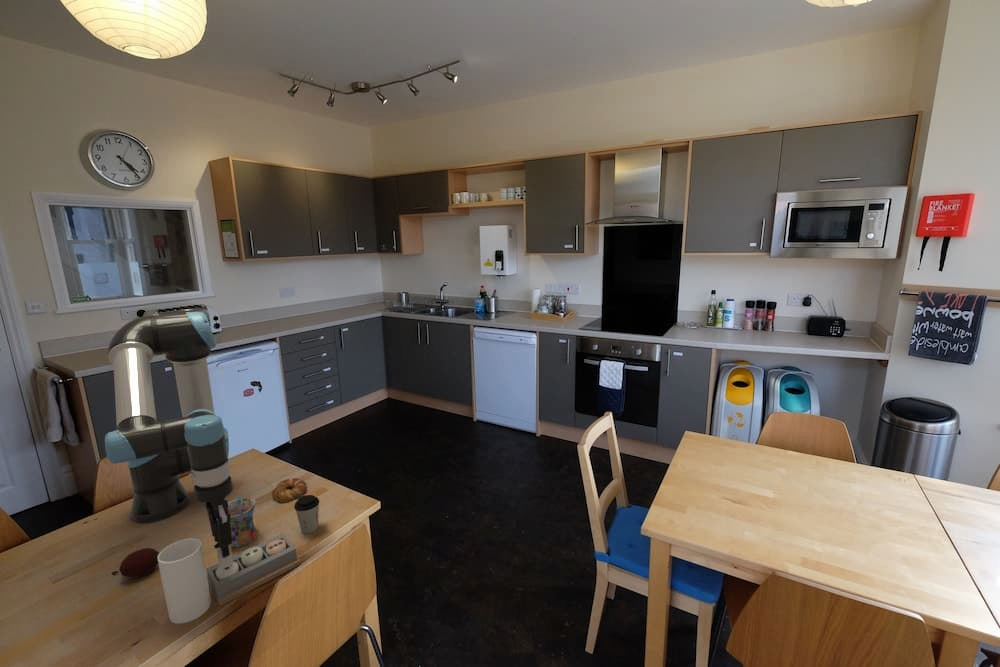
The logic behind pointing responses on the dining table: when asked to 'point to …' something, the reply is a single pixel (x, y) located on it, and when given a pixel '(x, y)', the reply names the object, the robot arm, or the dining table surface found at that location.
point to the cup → (184, 580)
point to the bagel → (289, 490)
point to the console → (252, 572)
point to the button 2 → (251, 556)
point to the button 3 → (275, 547)
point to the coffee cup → (307, 513)
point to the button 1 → (227, 571)
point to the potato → (139, 562)
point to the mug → (242, 521)
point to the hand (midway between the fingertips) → (226, 565)
